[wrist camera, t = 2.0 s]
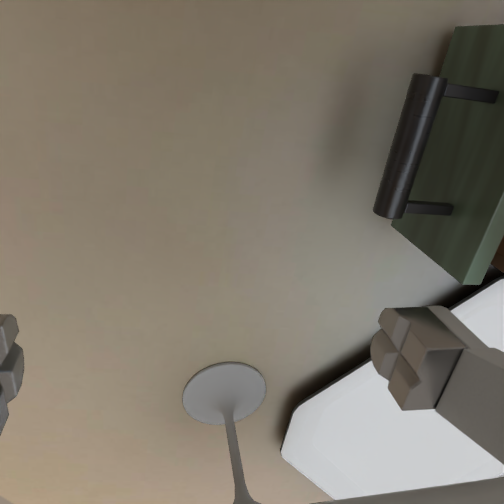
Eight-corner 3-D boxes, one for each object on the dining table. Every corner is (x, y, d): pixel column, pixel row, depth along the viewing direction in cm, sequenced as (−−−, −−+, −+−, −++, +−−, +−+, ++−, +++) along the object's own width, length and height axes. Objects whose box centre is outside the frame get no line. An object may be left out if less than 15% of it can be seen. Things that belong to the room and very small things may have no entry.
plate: (584, 404, 46) (602, 420, 44) (375, 522, 50) (383, 541, 48) (535, 233, 32) (559, 246, 30) (249, 416, 36) (253, 437, 34)
